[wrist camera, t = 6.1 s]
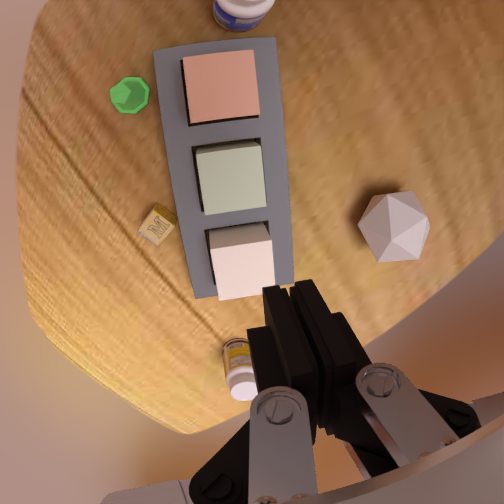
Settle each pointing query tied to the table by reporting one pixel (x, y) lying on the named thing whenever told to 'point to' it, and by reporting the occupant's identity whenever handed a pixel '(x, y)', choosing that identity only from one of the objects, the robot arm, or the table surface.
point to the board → (186, 136)
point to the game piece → (130, 95)
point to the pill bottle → (240, 13)
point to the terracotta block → (221, 85)
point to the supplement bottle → (239, 370)
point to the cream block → (242, 260)
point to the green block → (231, 177)
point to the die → (395, 226)
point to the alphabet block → (157, 224)
